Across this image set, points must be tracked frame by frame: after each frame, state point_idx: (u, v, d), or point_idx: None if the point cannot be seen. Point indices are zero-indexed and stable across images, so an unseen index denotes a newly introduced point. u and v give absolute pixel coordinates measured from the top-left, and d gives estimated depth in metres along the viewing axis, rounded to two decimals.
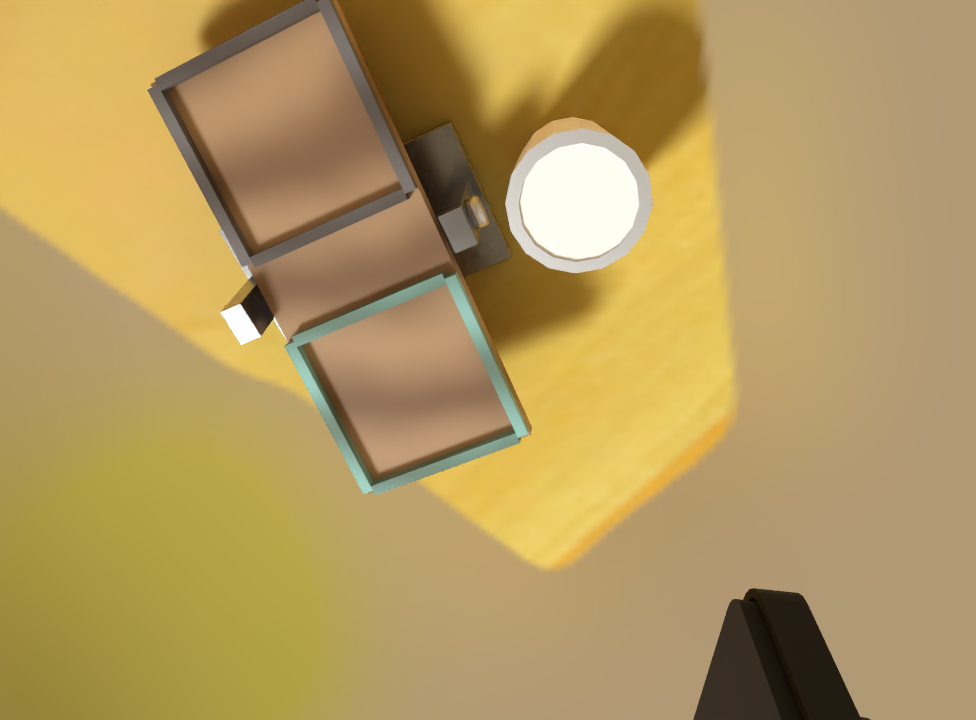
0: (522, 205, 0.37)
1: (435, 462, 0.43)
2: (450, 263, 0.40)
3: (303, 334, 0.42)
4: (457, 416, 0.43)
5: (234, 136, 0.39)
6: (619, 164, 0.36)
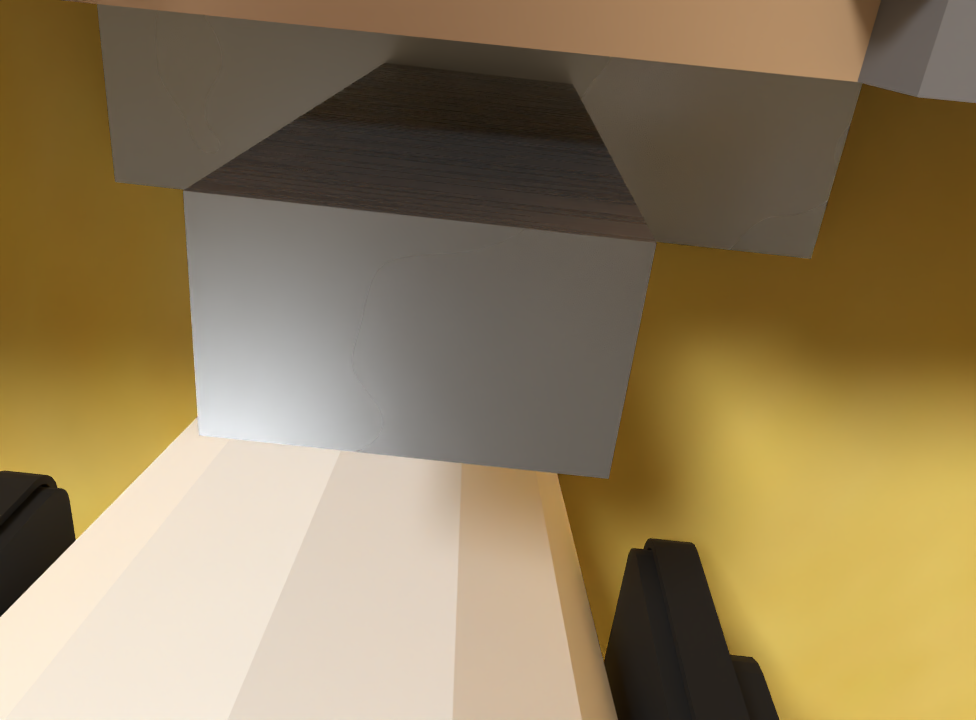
0: None
1: None
2: None
3: None
4: None
5: None
6: None
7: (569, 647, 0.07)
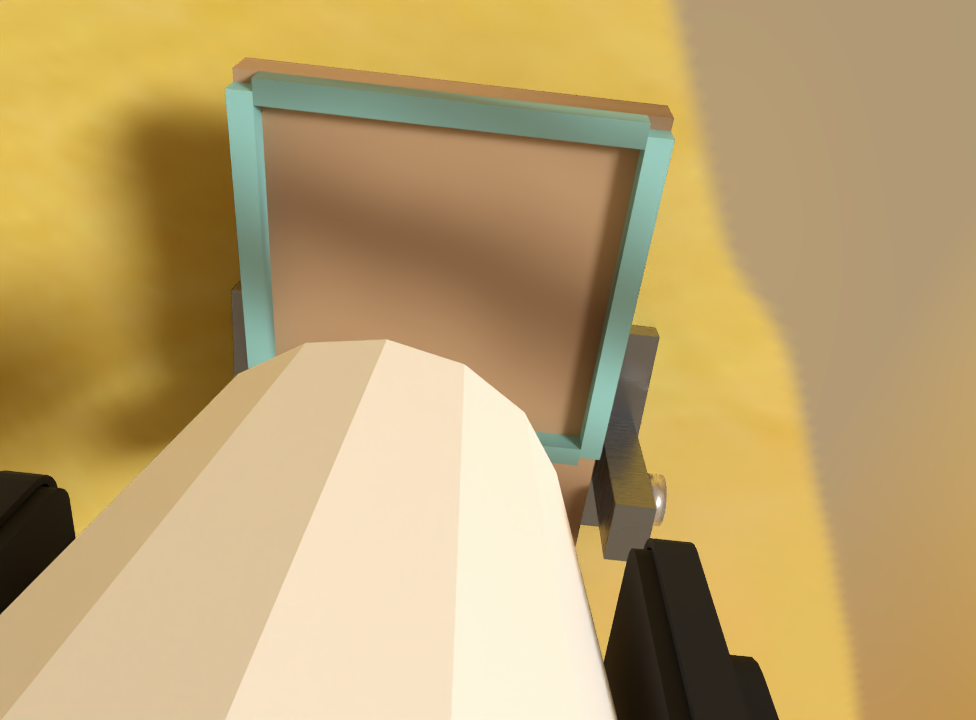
0: None
1: (467, 128, 0.18)
2: None
3: (554, 459, 0.23)
4: (375, 187, 0.19)
5: None
6: None
7: (568, 647, 0.07)
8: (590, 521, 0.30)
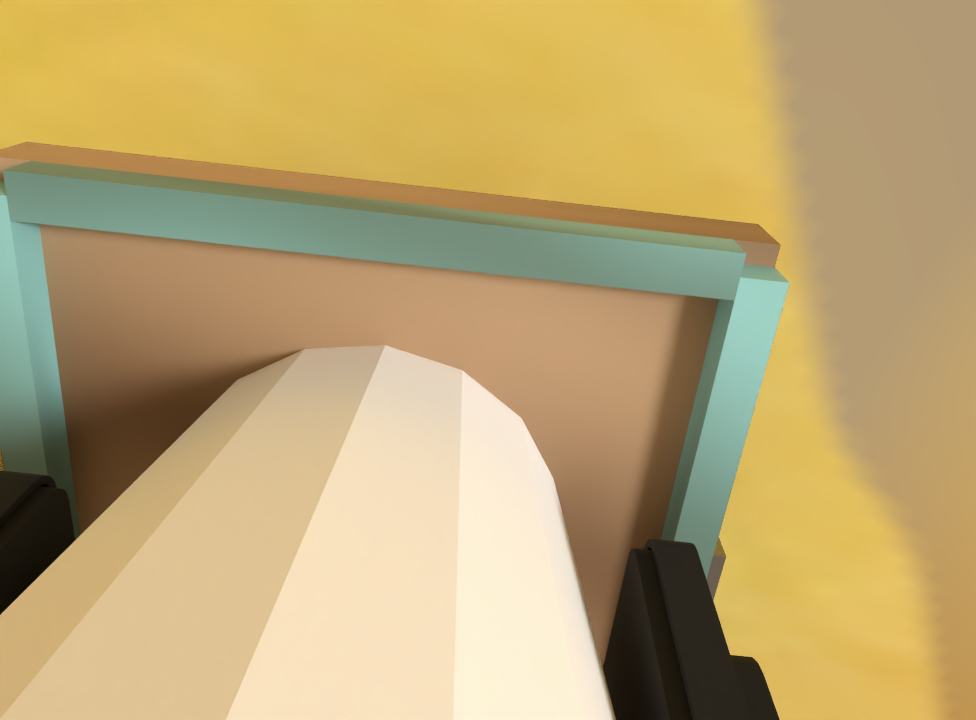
0: None
1: (407, 262, 0.10)
2: None
3: None
4: (250, 362, 0.11)
5: None
6: None
7: (567, 645, 0.07)
8: None
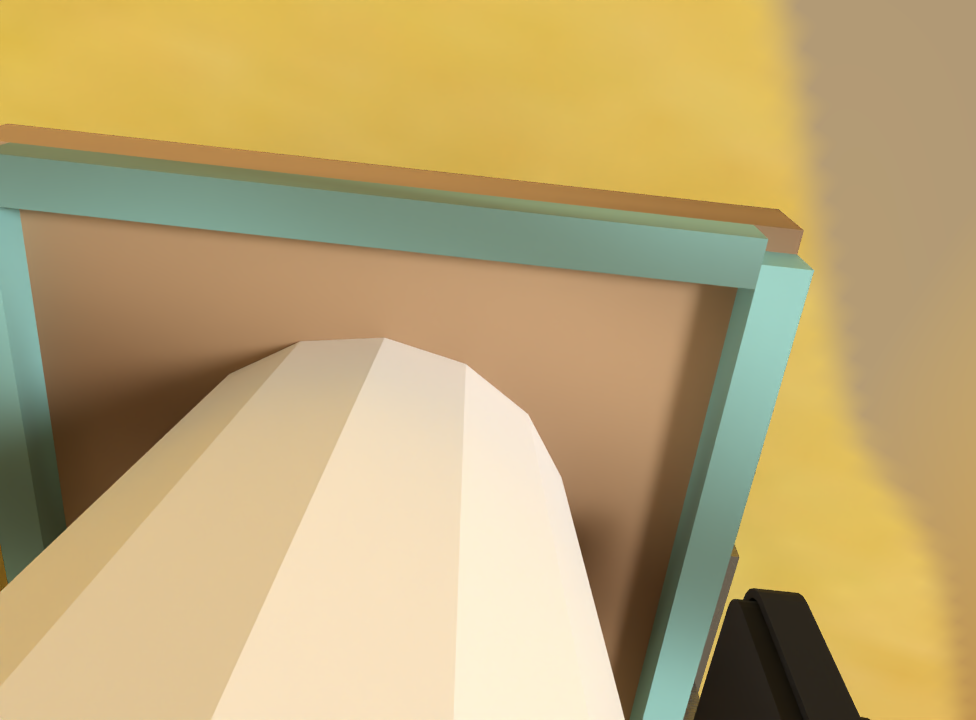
0: None
1: (407, 249, 0.09)
2: None
3: None
4: (243, 355, 0.10)
5: None
6: None
7: (578, 662, 0.06)
8: None
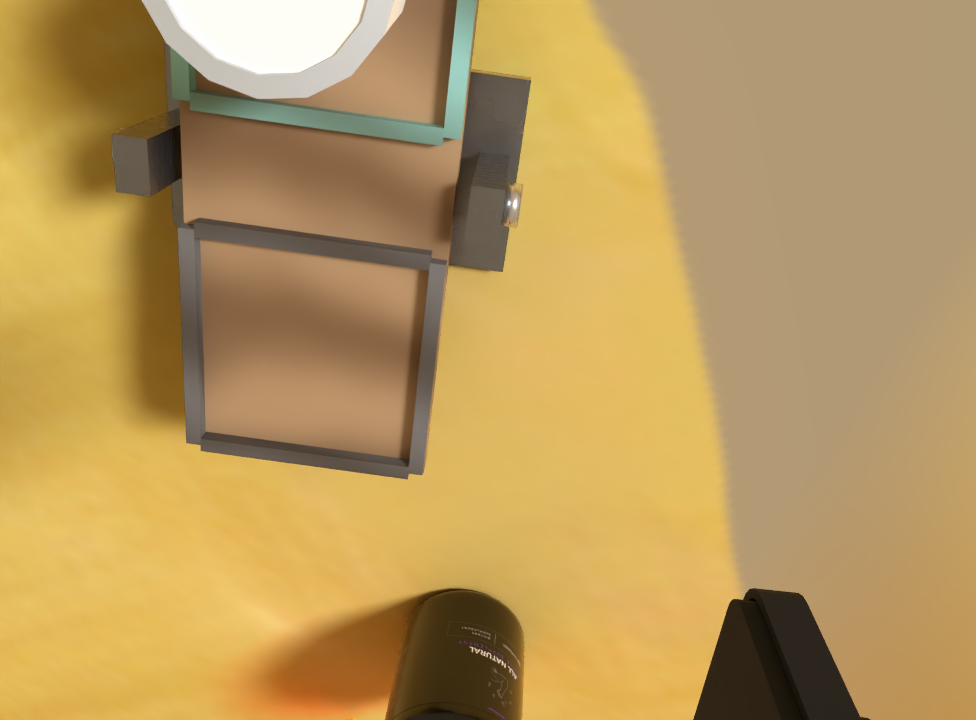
0: None
1: None
2: (182, 112, 0.28)
3: (422, 139, 0.28)
4: None
5: (368, 386, 0.32)
6: (298, 62, 0.21)
7: None
8: (478, 264, 0.34)
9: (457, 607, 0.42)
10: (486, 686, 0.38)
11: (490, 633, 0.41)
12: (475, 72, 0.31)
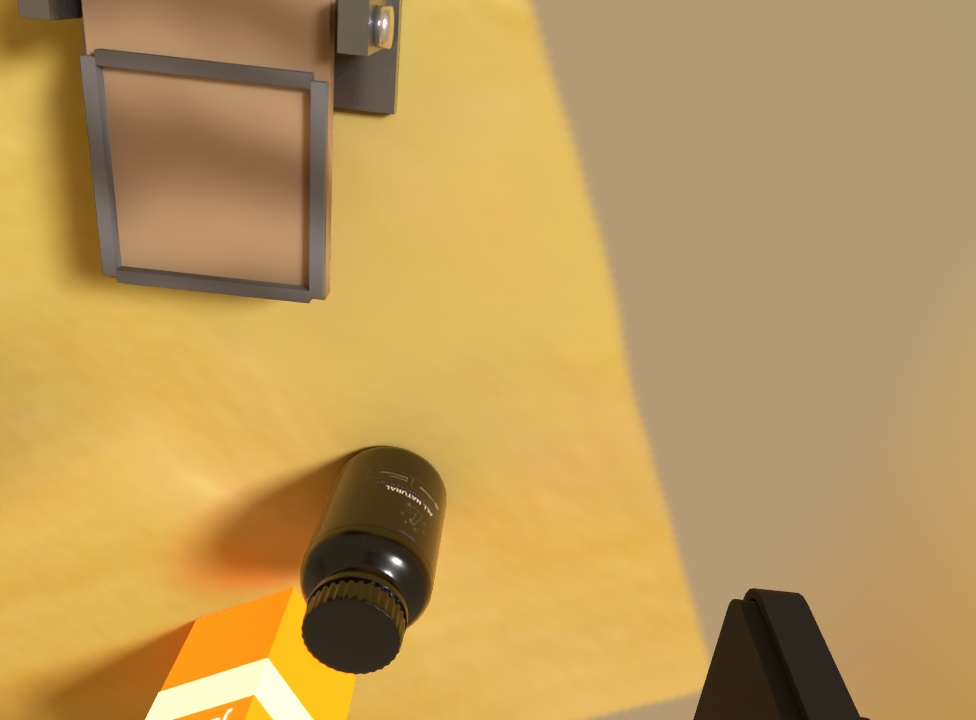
0: None
1: None
2: None
3: None
4: None
5: (267, 213, 0.35)
6: None
7: None
8: (371, 107, 0.37)
9: (378, 458, 0.45)
10: (399, 515, 0.41)
11: (407, 477, 0.44)
12: None
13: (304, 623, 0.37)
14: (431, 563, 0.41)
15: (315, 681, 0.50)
